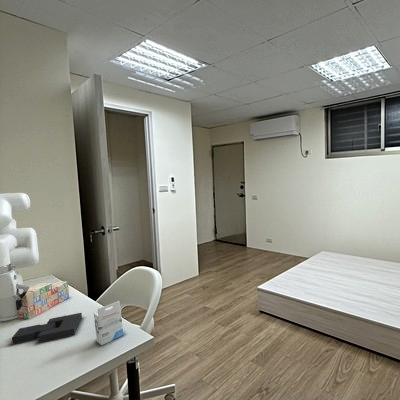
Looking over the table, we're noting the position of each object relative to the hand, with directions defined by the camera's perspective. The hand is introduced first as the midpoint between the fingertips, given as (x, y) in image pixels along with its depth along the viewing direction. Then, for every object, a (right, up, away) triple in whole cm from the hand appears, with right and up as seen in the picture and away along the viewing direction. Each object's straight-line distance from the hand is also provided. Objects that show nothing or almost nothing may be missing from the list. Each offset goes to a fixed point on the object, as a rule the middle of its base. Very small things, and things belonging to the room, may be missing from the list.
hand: (3, 311), depth 105 cm
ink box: (+42, -11, +1) cm, 43 cm away
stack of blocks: (-6, -10, +29) cm, 31 cm away
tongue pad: (+9, -12, +4) cm, 15 cm away
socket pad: (+17, -11, +8) cm, 22 cm away
